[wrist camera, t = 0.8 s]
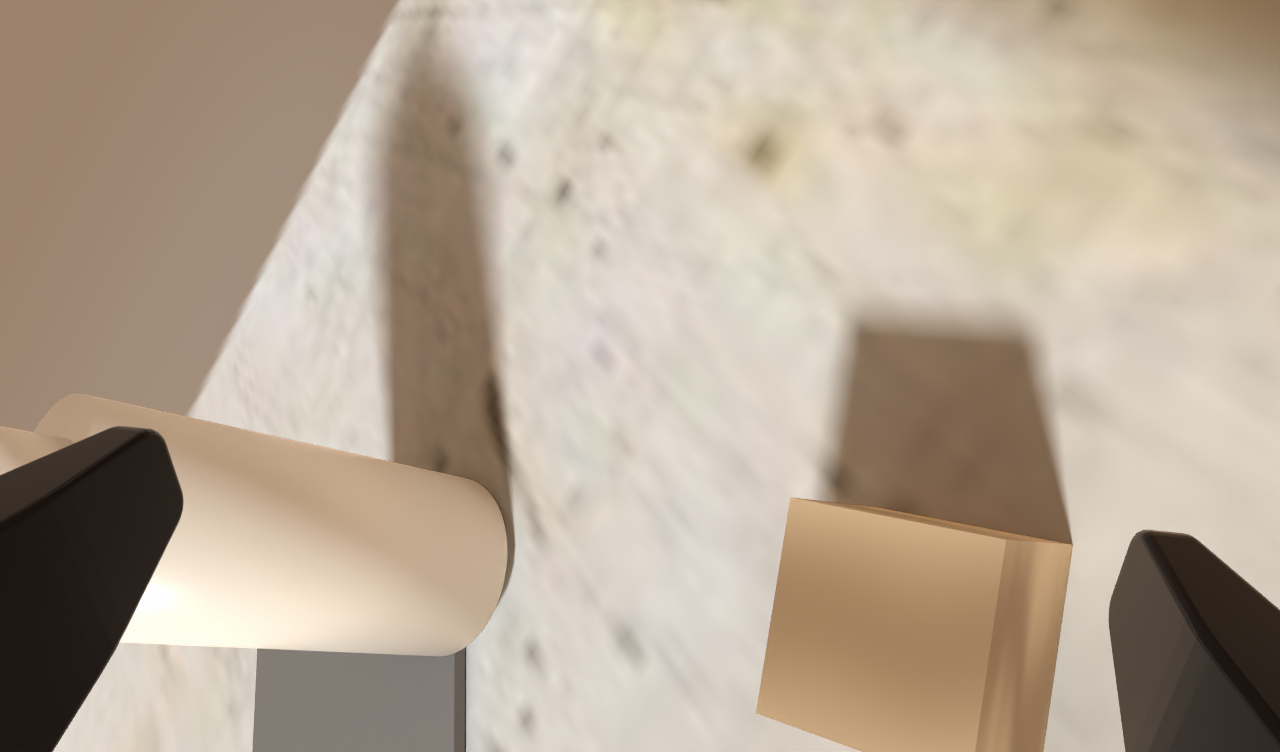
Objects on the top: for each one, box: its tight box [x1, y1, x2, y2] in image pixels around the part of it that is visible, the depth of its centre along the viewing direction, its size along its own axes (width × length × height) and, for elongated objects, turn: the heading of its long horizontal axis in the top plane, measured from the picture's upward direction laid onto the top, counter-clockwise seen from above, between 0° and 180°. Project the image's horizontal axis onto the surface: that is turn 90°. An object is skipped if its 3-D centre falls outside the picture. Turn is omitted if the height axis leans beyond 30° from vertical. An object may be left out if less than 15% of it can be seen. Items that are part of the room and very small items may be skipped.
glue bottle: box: [0, 393, 507, 657], centre depth 24 cm, size 5×5×14 cm
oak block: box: [756, 498, 1073, 752], centre depth 19 cm, size 4×4×4 cm
